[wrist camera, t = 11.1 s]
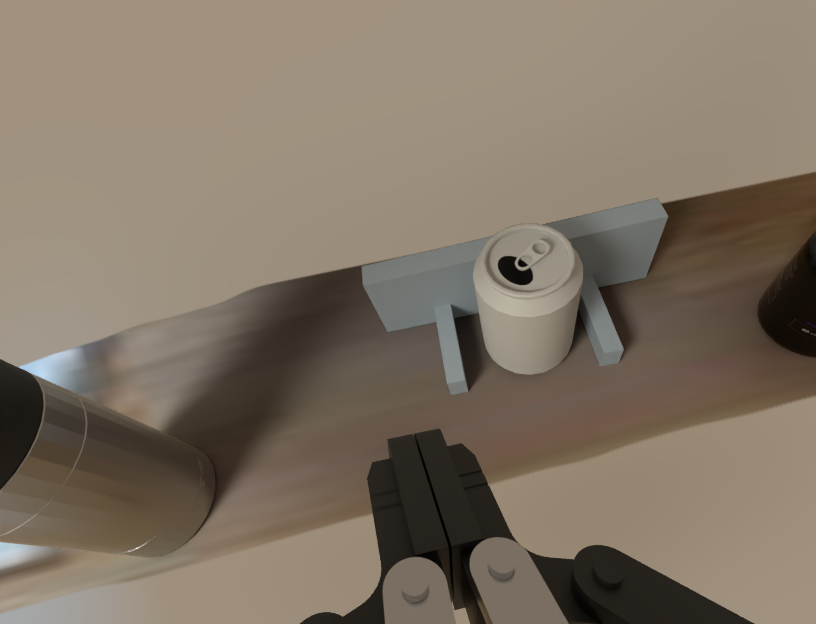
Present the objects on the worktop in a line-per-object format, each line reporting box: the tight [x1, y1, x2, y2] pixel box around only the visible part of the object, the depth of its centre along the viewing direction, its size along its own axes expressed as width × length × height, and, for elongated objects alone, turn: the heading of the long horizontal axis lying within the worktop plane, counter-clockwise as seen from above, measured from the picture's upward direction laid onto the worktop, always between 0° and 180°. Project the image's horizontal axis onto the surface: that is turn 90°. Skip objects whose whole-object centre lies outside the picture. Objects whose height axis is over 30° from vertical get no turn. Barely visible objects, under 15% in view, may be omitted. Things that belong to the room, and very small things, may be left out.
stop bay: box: [362, 198, 668, 395], centre depth 38 cm, size 24×10×8 cm, turn 97°
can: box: [473, 224, 583, 375], centre depth 36 cm, size 8×8×12 cm
